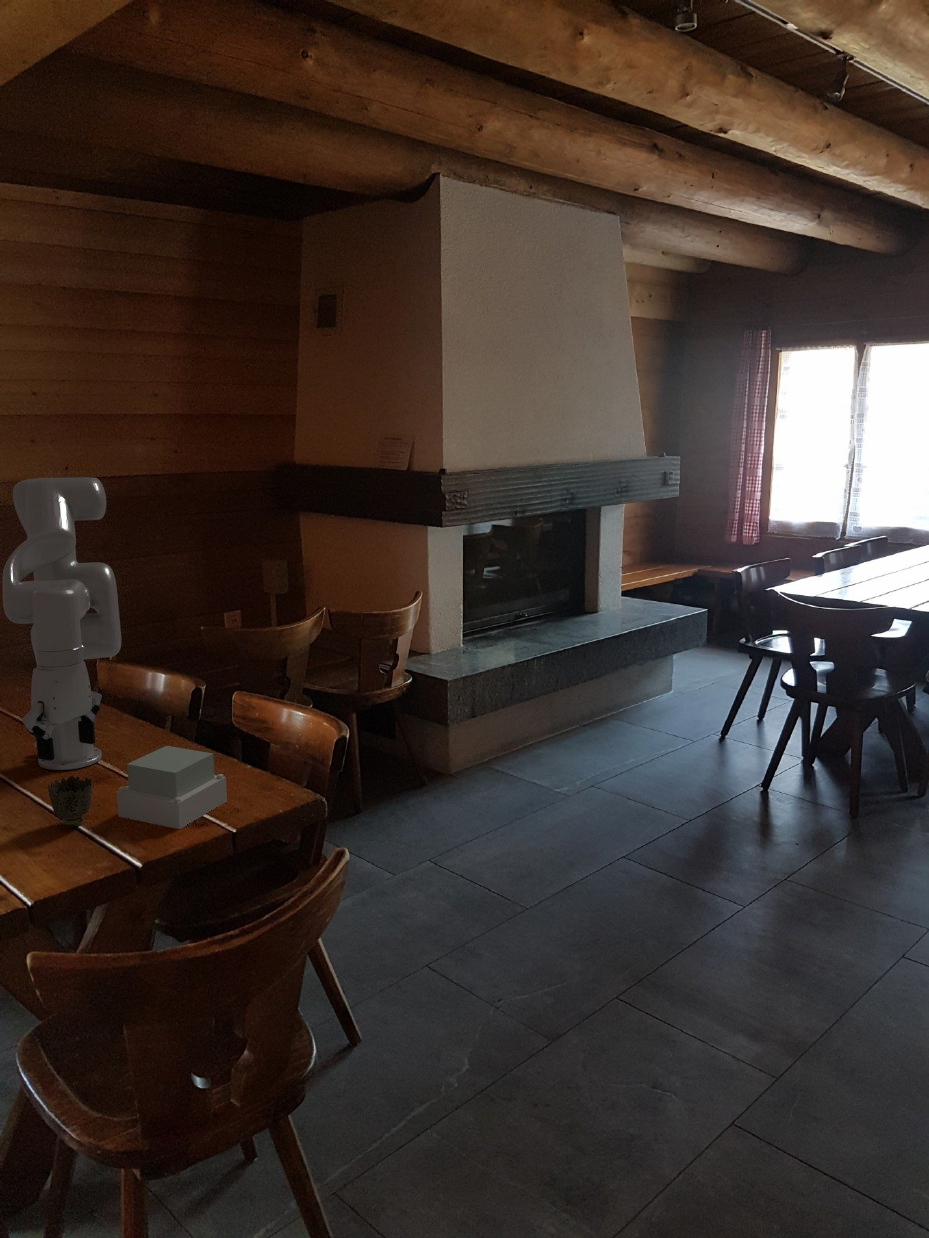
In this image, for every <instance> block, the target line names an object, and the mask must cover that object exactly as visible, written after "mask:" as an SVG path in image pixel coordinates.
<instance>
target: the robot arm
mask: <svg viewBox="0 0 929 1238" xmlns="http://www.w3.org/2000/svg"><path fill="white" fill-rule="evenodd" d="M12 498H13V499H12V501H13V505H14V508H15V512H16V515H17V517H18V518H19V519H18V520H19V522H20V524H21V525H22V527H23V529H24V531H25V533H26V537H27V538H26V540H24V541H23V542H22V543H21V544H20V545H18V547H16V548H15V549H14V551H12V553H11V555H10V556H9V557H8V558H7V560H6V562H5V564H4V567H3V571H2V605H3V611H4V614H5V616H6V617H7V619H8V620H9V621H10V622H12V623H14V624H20V625H21V624H25V625H27V624H33V625H32V627H31V629H30V640H31V641H30V642H31V645H32V649H33V654H34V657H35V662H36V667H35V668H33V671H32V677H31V687H30V688H31V689H30V691H31V692H30V698H31V699H30V700H31V701H30V703H31V704H30V705H31V706H30V708H31V709H30V710H29V711H28V712H27V713H26V714H25V715H24V716H23V717H22V720H21V721H22V723H23V725H24V726H25V727H26V730H27V732H28V733H29V734H31V735H32V737H33V738H35V740H36V741H35V742H34V744H33V745H34V746H33V747H34V748H36V751H37V758H38V759H37V760H38V761H37V762H38V765H39V766H40V767H41V768H43V769H46V770H51V771H52V770H53V771H68V770H75V769H76V770H77V769H80V768H84V767H85V768H86V767H88V766H90V765H91V766H92V765H94V764H95V763H97V762H99V761H100V760H101V758H102V755H103V754H102V750H101V749H100V748H98V747H95V746H94V744H96V733H95V722H96V721H97V714H98V713H99V710H100V705H101V701H102V699H103V696H102V694H101V693H98V692H96V691H93V690H91V689H92V688H91V682H90V676H89V673H88V669H87V665H86V661H85V660H92V659H102V658H103V659H104V658H111V657H114V656H116V655H117V654H118V653H119V652H120V650H121V647H122V631H121V621H120V609H119V600H118V597H119V595H118V588H117V581H116V576H115V573H114V571H113V569H112V568H111V566H110V565H109V564H106V563H104V562H98V561H95V562H78V560H77V549H76V545H77V537H76V527H75V521H95V520H96V521H98V520H102V519H103V518H104V517H105V514H106V510H107V495H106V491H105V487H104V485H103V483H102V482H101V480H99V478H97V477H88V476H85V477H83V476H82V477H79V476H78V477H38V478H37V477H36V478H28V479H25V480H24V479H23V480H21V481H19V482H17V483H16V484H14V486H13V488H12ZM31 573H33V580H27V581H22V580H23V579H24V578H26V577H27V576H28V575H30V574H31ZM90 608H92V609H94V610H95V611H96V612H95V613H87V611H89V609H90Z"/></svg>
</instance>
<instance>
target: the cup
mask: <svg viewBox="0 0 929 1238" xmlns="http://www.w3.org/2000/svg"><path fill="white" fill-rule="evenodd" d="M92 780H93V779H92V778H89V777H88V776H87V777H85V778H84V780H83V779H82V780H81V779H80V777H79V776H76V777H75V776H73V775H70V776H68V778H67V779H65V777H62V778H61V780H60V781H59V780H58V779H55V781H51V782H50V784H49V783H48V785H47V790H48V796H49V799H50V804H51V808H52V810H53V813H54V814H55V816H56V817H57V818H59V819H62V820H61V824H62V825H63V826H65V827H67V828H75V827H78V826H79V827H80V825H83V823H84V821H85V818H84V816H85V815H86V814H87V813H88V812H89V810H90V808H91V804H92V795H93V794H92V793H93V791H92V790H93V789H92V788H93V781H92Z"/></svg>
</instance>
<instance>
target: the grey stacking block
mask: <svg viewBox="0 0 929 1238" xmlns="http://www.w3.org/2000/svg"><path fill="white" fill-rule="evenodd" d="M214 759H215V758H214V753H212V752H207V751H206V752H205V751H201V750H195V749H189V748H182V747H176V746H170V745H165V746H163V747H161V748H159V749H156V750H154V751H152V752H150V753H147V754H146V755H143V756H142V757H139V758H137V759H135V760H132V761H131V762H129V763H127V764H126V769H127V783H128V785H127V786H120V787H119V788H118V790H116V802H117V803H116V804H117V815H118V817H120V818H123V819H128V818H129V819H128V820H132V821H137V820H139V821H138V822H141V823H142V822H143V823H147V822H148V824H152V825H156V824H157V825H158V826H162V827H167V828H172V829H175V830H176V829H177V830H181V829H183V828H184V827H186V826H188V825H190V824H191V823H193V822H194V820H195V821H197V820H198V819H200V818H201V817H204V816H205V815H206V813H207V814H208V813H210V812H212V811H213V810H215V809H217V808H218V807H220V806H222V805H224V804H225V803H226V802H228V795H227V777H226V776H224V774H222V773H218V774H217V775H216V774H215V763H214V762H215V761H214ZM216 807H217V808H216ZM211 810H212V811H211ZM209 811H210V812H209ZM204 814H205V815H204ZM189 823H190V824H189ZM187 824H188V825H187Z"/></svg>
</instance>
